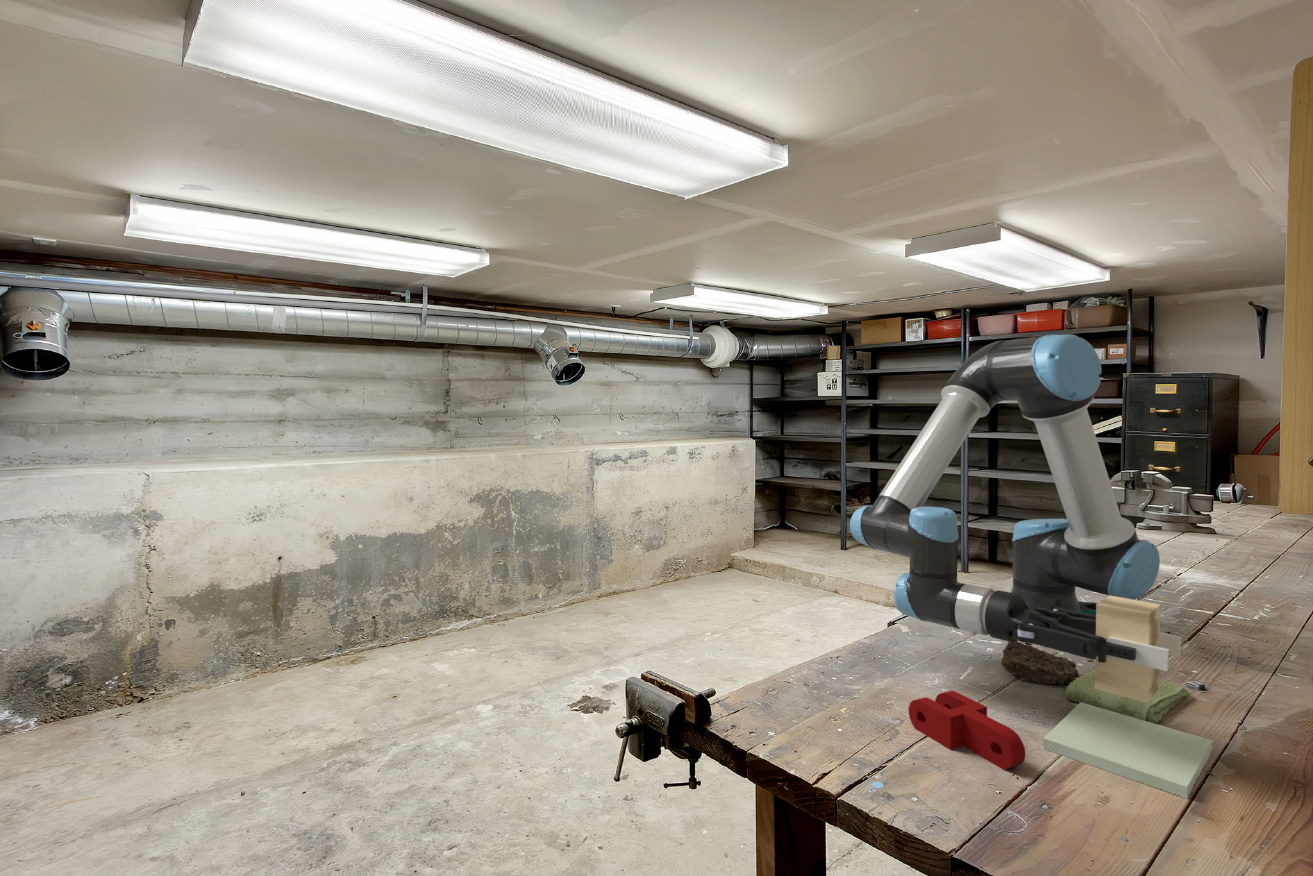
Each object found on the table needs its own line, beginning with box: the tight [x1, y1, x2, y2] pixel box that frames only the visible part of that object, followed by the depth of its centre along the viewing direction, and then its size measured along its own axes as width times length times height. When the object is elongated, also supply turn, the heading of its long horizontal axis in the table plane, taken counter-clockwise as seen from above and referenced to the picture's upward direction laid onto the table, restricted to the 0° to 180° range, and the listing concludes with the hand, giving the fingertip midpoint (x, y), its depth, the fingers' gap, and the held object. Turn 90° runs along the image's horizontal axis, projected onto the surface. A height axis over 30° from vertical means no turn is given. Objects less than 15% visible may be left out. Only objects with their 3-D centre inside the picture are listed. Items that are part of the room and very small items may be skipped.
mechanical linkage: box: [908, 690, 1026, 770], centre depth 93 cm, size 16×7×5 cm, turn 23°
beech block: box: [1094, 595, 1162, 703], centre depth 90 cm, size 6×6×12 cm
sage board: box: [1042, 702, 1214, 800], centre depth 91 cm, size 16×16×2 cm
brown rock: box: [1001, 641, 1079, 685], centre depth 115 cm, size 12×10×5 cm
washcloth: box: [1064, 668, 1191, 724], centre depth 107 cm, size 13×18×3 cm
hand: (1173, 653), depth 86 cm, fingers closed on beech block, 6 cm apart
